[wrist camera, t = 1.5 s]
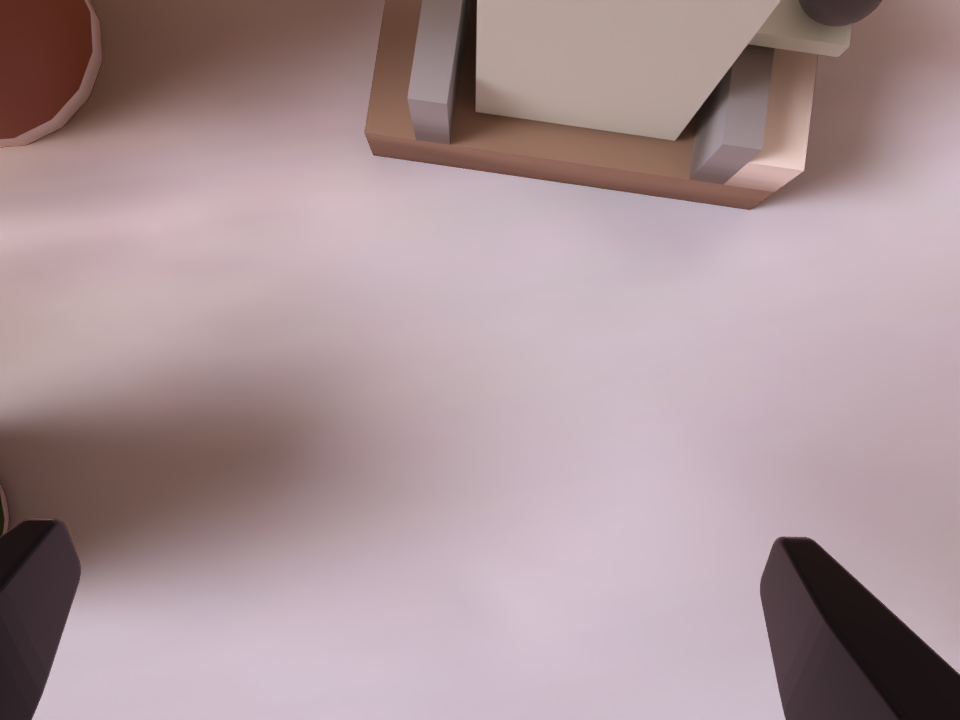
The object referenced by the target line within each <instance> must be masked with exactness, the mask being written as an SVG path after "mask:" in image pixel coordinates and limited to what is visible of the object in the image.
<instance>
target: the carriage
mask: <svg viewBox="0 0 960 720" xmlns="http://www.w3.org/2000/svg"><path fill="white" fill-rule="evenodd" d="M881 2H882V0H477V42H476V112H480V113H487V114H494V115H501V116H508V117H515V118H521V119H528V120H535V121H542V122H549V123H556V124H563V125H570V126H577V127H583V128H590V129H597V130H604V131H611V132H618V133H625V134H632V135H639V136H645V137H652V138H659V139H666V140H673V141H675V140H676V139H677V137H678V136H679V135H680V133H681V132H682V131H683V129H684V128H685V127H686V126H687V124H688V123H689V122H690V120H691V119H692V118H693V116H694V115H695V114H696V112H697V111H698V110H699V108H700V107H701V106H702V104H703V103H704V102H705V100H706V99H707V98H708V96H709V95H710V94H711V92H712V91H713V90H714V88H715V87H716V86H717V84H718V83H719V82H720V80H721V79H722V78H723V76H724V75H725V74H726V72H727V71H728V70H729V69H730V67H731V66H732V65H733V63H734V62H735V61H736V59H737V58H738V57H739V55H740V54H741V53H742V51H743V50H744V49H745V47H746V46H747V45H748V44H750V45H757V46H764V47H771V48H778V49H784V50H791V51H798V52H805V53H812V54H819V55H826V56H833V57H839V56H840V55H841V54H842V53H843V52H844V51H845V50H846V49H847V48H848V47H849V46H850V40H851V31H852V23H855V22H857V21H859V20H861V19H863V18H864V17H866V16H868V15H869V14H870V13H871V12H872V11H874V10H875V9H876V7H877V6H878V5H879V4H880V3H881Z"/></svg>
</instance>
